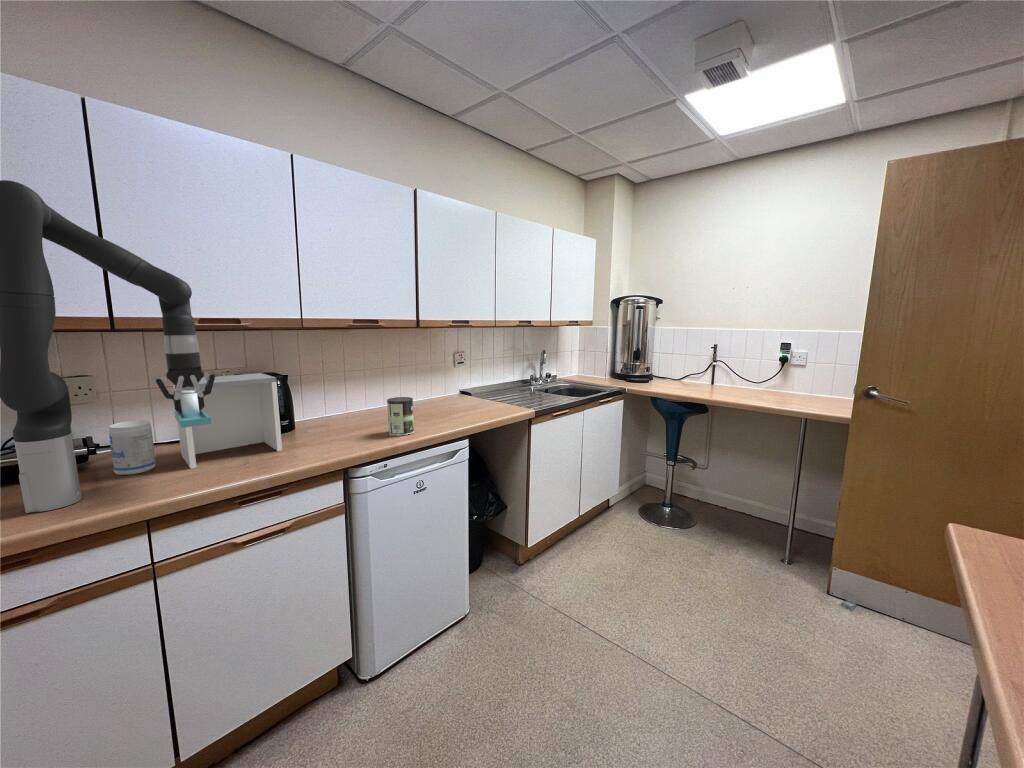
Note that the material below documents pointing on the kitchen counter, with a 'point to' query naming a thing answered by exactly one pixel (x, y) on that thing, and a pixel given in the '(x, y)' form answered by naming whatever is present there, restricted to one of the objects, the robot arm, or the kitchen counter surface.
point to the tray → (192, 419)
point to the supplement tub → (132, 447)
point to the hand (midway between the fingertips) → (190, 410)
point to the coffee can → (400, 416)
